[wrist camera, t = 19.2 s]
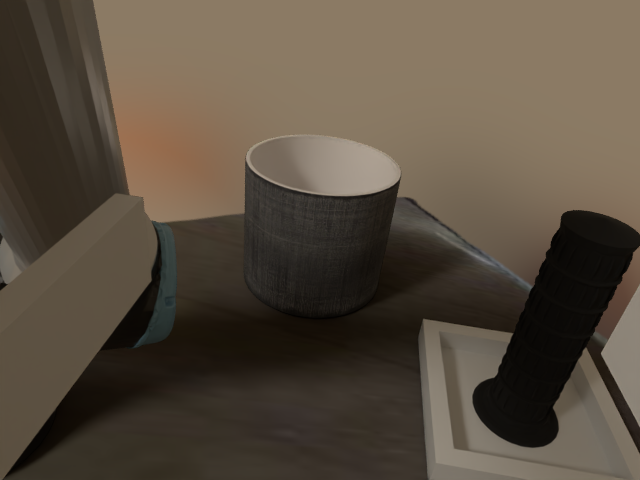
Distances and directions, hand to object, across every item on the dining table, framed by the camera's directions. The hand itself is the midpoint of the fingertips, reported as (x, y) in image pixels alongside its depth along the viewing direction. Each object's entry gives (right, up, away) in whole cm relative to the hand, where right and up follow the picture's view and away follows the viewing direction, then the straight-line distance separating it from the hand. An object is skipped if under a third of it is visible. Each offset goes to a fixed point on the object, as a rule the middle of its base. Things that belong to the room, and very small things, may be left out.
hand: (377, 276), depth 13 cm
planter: (-3, -5, +65) cm, 65 cm away
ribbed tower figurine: (+22, -20, +44) cm, 53 cm away
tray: (+22, -20, +45) cm, 54 cm away
